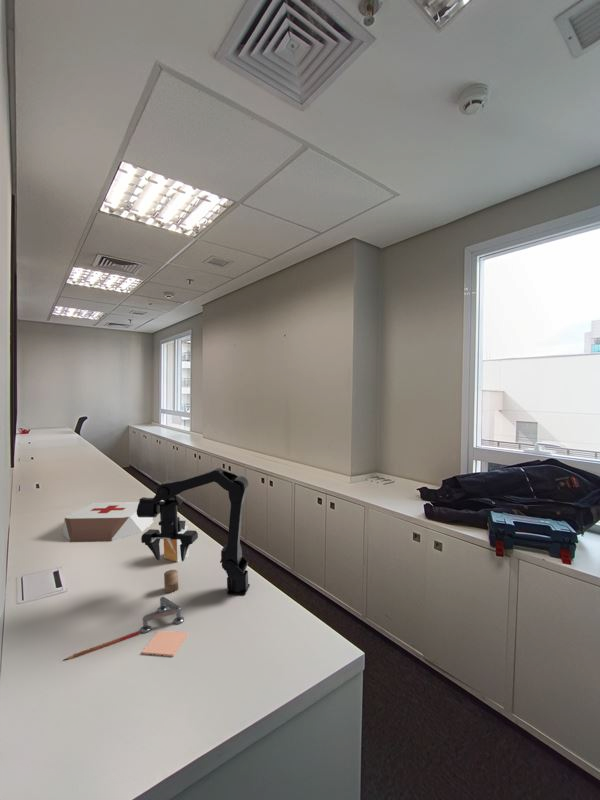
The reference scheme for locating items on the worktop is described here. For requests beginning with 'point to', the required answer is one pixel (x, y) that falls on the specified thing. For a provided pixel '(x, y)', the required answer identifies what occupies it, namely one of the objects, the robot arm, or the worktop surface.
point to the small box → (174, 548)
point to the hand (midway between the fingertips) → (170, 560)
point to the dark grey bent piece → (162, 614)
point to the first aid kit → (104, 522)
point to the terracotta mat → (165, 643)
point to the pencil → (102, 645)
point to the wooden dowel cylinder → (171, 581)
